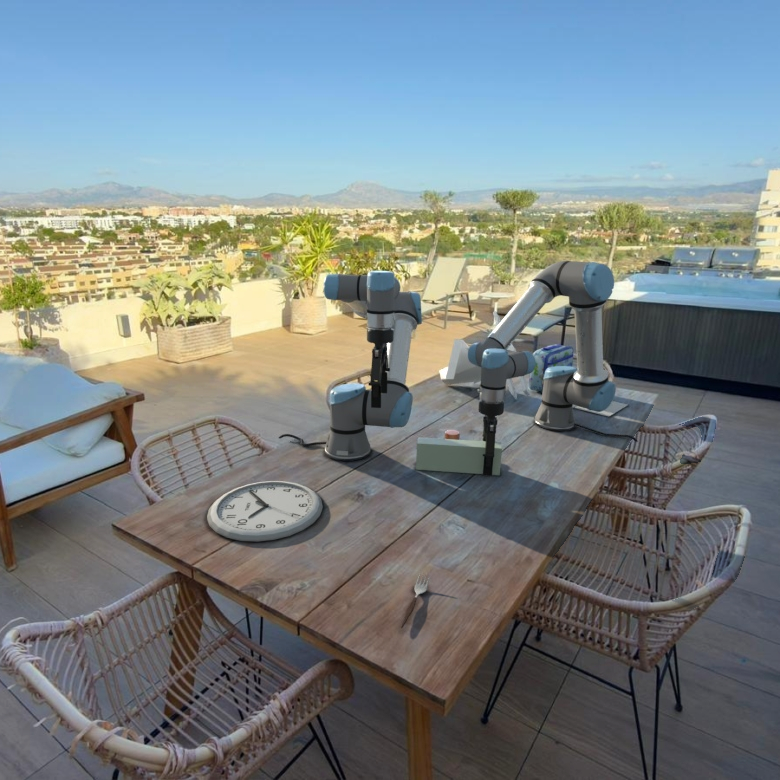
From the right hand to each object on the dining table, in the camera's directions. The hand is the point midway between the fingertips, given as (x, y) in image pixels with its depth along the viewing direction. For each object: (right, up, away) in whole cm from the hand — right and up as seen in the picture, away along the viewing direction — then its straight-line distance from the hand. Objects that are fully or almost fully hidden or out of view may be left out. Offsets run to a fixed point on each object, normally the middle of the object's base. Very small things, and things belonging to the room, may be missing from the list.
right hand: (486, 467), depth 164 cm
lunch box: (+46, +25, +86) cm, 100 cm away
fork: (-26, -19, -58) cm, 66 cm away
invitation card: (+61, +17, +62) cm, 89 cm away
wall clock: (-64, -8, -24) cm, 68 cm away
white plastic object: (+11, +23, +79) cm, 83 cm away
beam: (-9, -1, +1) cm, 9 cm away
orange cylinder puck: (-9, +4, +17) cm, 19 cm away
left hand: (-33, +22, -12) cm, 42 cm away
